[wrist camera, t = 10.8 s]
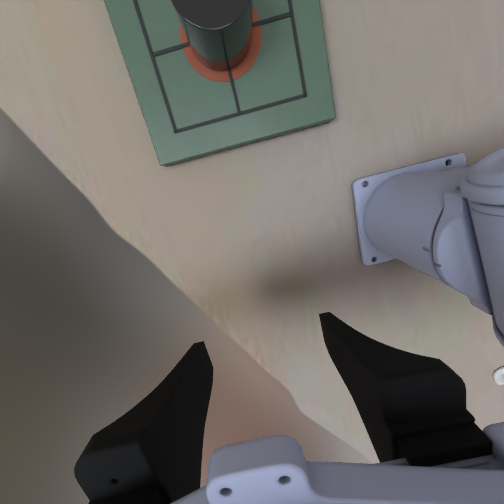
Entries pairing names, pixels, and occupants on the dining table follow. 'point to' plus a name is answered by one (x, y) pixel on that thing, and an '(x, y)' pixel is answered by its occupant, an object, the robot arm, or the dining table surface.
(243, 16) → the dark grey canister
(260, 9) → the board
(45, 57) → the dining table surface
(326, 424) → the dining table surface
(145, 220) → the dining table surface
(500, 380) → the game piece set
